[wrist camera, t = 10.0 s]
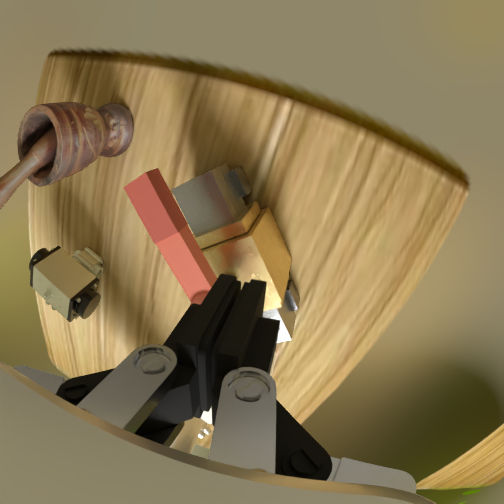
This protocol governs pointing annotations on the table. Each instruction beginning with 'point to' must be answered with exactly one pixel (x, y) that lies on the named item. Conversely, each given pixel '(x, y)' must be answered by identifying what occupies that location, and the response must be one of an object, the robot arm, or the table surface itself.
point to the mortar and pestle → (65, 142)
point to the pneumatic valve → (67, 280)
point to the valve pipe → (240, 239)
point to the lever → (171, 234)
